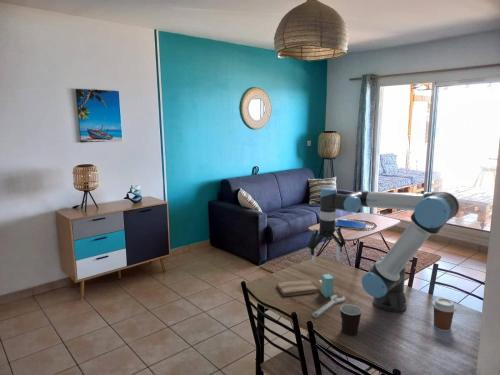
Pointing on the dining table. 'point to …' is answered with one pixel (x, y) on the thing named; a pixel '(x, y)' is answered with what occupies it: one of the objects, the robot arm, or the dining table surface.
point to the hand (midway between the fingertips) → (326, 259)
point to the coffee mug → (350, 319)
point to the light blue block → (327, 285)
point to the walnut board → (296, 287)
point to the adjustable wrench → (328, 305)
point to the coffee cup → (443, 313)
